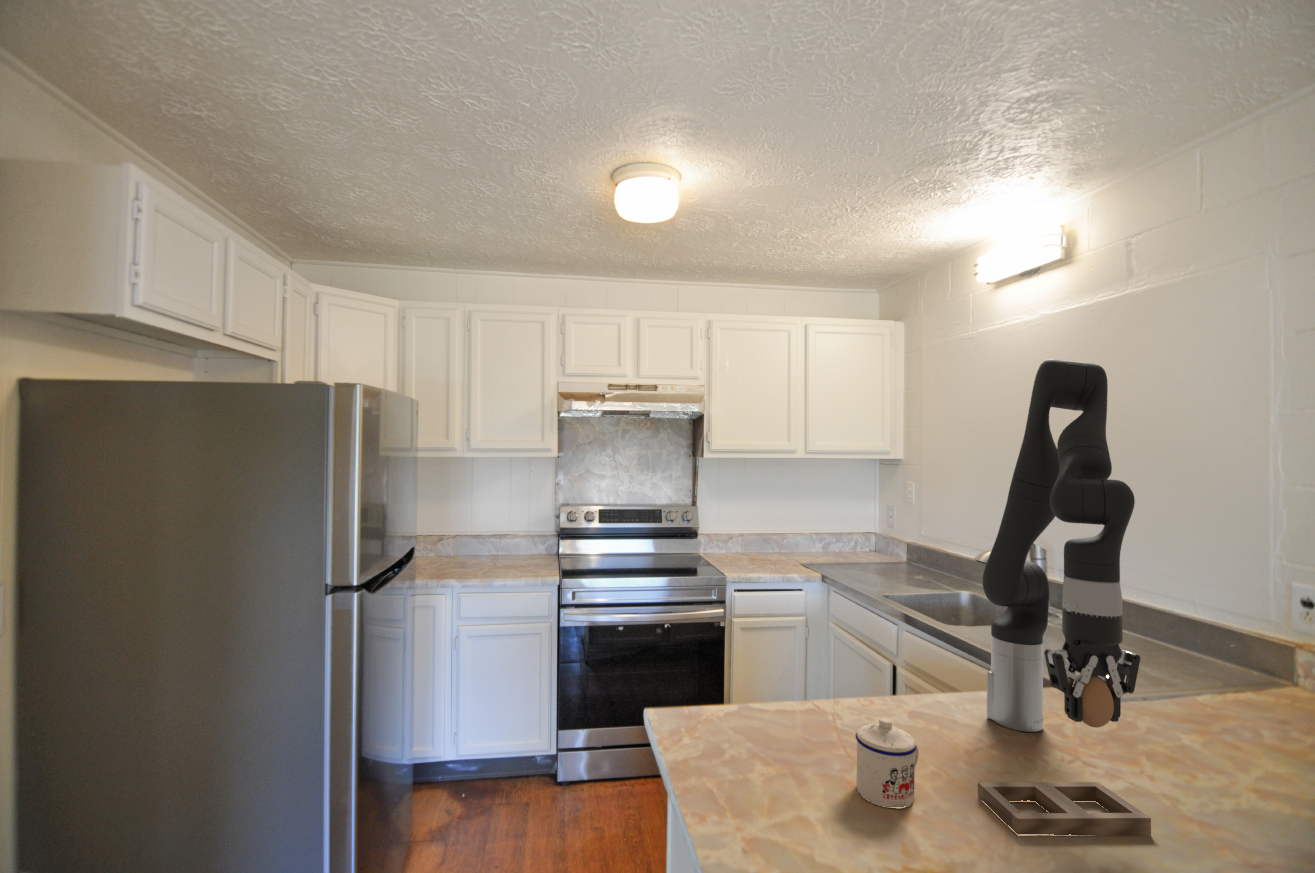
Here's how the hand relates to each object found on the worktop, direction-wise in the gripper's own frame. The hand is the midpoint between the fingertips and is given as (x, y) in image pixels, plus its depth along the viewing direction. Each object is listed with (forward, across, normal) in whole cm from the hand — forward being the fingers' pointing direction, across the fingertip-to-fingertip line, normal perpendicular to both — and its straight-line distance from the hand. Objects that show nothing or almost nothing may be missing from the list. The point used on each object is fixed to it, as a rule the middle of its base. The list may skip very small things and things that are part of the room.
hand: (1092, 719), depth 90 cm
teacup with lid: (+15, +28, -7) cm, 33 cm away
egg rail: (+14, +5, 0) cm, 15 cm away
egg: (+1, 0, 0) cm, 1 cm away
